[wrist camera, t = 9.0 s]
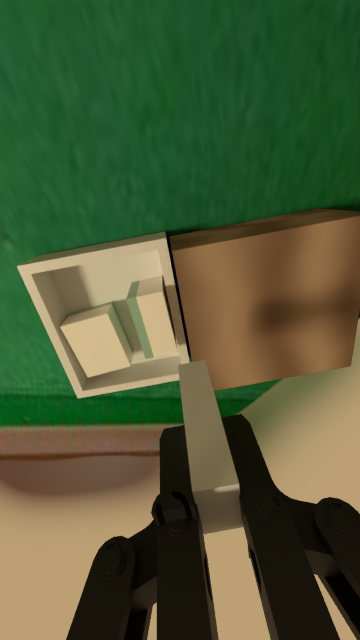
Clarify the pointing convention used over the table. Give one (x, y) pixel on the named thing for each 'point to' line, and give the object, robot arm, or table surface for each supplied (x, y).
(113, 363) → the tile
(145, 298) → the tile
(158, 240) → the bin
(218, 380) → the walnut block
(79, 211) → the table surface
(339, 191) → the table surface
